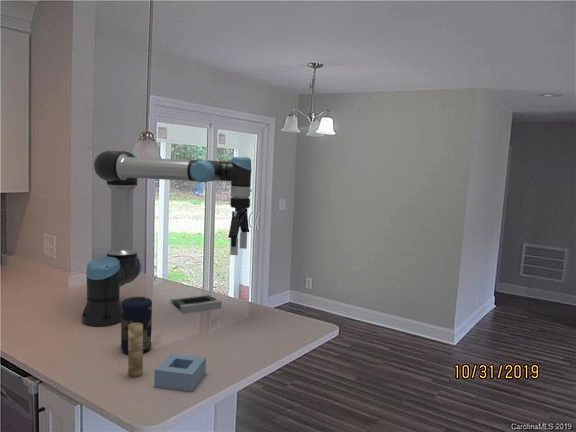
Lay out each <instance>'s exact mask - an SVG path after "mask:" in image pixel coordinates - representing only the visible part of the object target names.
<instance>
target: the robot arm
mask: <svg viewBox="0 0 576 432" xmlns="http://www.w3.org/2000/svg"><path fill="white" fill-rule="evenodd" d="M93 168H94V173H95V174H96V175H97V176H98V177H99V178H100V179H102V180H103V181H106V186H107V187H108V188H109V189H110V248H109V249H108V250H107V251H106V256H101V257H97V258H94V259H91V260H90V261H89V262H88V263H87V265H86V273H85V274H86V302H85V306H84V309H83V312H82V314H81V323H82V324H83V325H86V326H90V327H108V326H112V325H116V324H119V323H121V308H122V302H121V299H120V298H121V297H120V287H123V286H125V285H127V284H130V283H131V282H133V281H134V280H136V279H137V278H138V277H139V276H140V274H141V271H142V262H141V259H140V258H139V256H138V251H137V250H136V249H135V247H134V189H136V188H137V187H138V179H144V180H145V179H147V180H165V181H183V182H185V181H186V182H187V181H188V182H198V183H208V182H216V181H219V182H230V196H231V197H230V205H229V206H230V208H232V209H234V211H232V212H231V220H230V227H229V234H228V236H227V237H228V238H229V239H230V247H229V248H230V249H229V253H230V254H229V255H230V256H238V254H239V249H245V250H246V249H247V248H248V247H247V246H248V241H247V240H248V233H249V232H250V229H249V216H248V209H249V208H250V207H251V198H250V197H251V193H252V192H253V190H252V189H251V186H252V185H251V183H252V182H251V181H252V180H251V179H252V159H251V158H250V157H246V156H233V157H232V158H231V161H220V160H211V159H210V160H200V159H199V160H198V159H197V160H193V159H191V160H190V159H173V158H158V157H157V158H156V157H155V158H154V157H138V156H137V155H136V154H134V153H133V152H131V151H130V152H129V151H125V150H105V151H102V152H101V153H99V154H98V155H97V156H96V158H94V162H93ZM239 233H240V234H239ZM238 236H239V237H238Z"/></svg>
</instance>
